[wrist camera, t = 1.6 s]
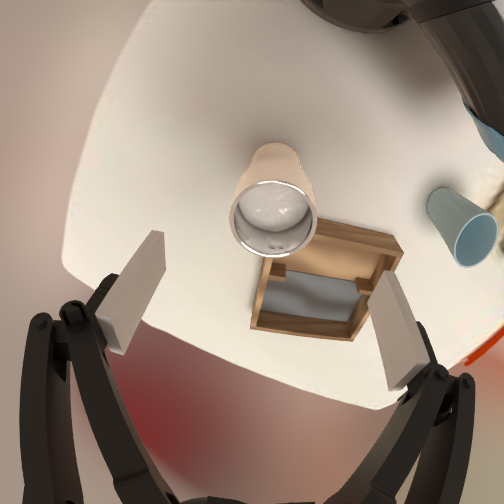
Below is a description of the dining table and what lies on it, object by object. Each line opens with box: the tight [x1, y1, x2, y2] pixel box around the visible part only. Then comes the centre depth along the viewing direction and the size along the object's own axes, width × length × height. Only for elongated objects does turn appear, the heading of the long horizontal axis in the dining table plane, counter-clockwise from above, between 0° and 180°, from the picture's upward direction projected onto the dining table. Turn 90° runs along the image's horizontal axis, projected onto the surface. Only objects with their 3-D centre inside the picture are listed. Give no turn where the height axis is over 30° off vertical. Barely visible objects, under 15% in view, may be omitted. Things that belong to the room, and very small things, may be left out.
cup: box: [427, 187, 498, 268], centre depth 28 cm, size 8×8×10 cm
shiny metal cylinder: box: [229, 143, 317, 258], centre depth 26 cm, size 7×7×15 cm
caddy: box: [250, 218, 404, 342], centre depth 39 cm, size 19×18×4 cm
